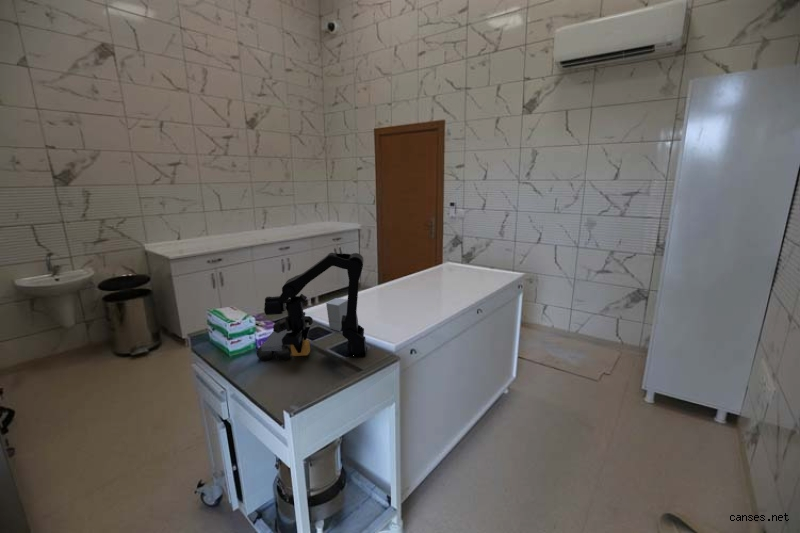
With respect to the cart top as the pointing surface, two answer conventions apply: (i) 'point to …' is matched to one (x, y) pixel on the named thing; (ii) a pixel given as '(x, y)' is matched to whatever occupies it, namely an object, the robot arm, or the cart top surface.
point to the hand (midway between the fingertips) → (301, 349)
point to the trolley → (274, 347)
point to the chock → (304, 350)
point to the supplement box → (336, 312)
